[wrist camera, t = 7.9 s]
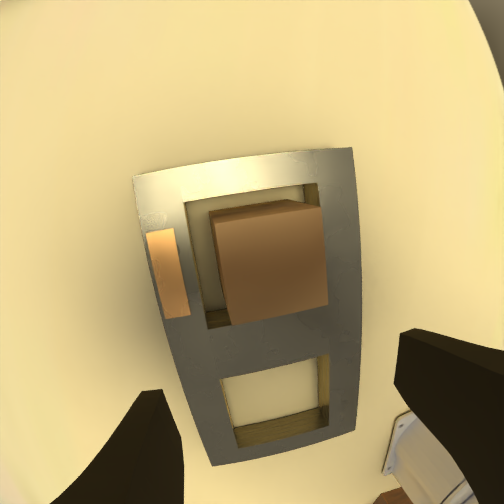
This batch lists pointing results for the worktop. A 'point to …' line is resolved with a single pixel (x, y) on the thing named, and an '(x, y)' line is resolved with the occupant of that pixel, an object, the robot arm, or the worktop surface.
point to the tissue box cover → (394, 497)
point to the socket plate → (267, 330)
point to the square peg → (270, 259)
